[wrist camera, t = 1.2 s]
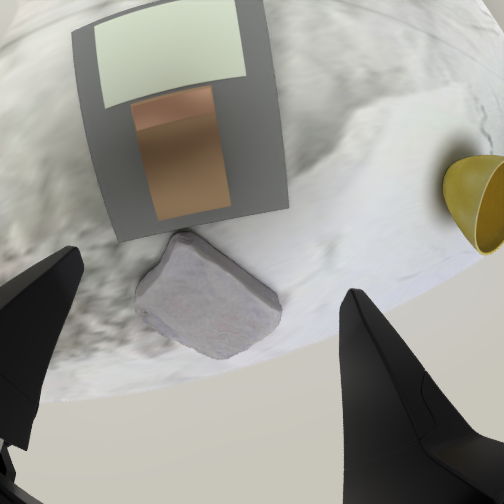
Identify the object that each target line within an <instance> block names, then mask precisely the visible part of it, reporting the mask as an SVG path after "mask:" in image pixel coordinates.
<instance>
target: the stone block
mask: <svg viewBox="0 0 504 504" xmlns="http://www.w3.org/2000/svg"><path fill="white" fill-rule="evenodd" d="M134 302H135V310H136V315H137V316H138V317H139V319H140V321H141V322H142V323H144V324H146V325H148V326H151V327H153V328H154V329H156V331H157V332H158V333H159V334H161V335H163V336H165V337H167V338H170V339H175V340H176V341H177V342H179V343H180V344H182V345H185V346H187V347H189V348H194V349H195V350H196V351H197V352H199V353H201V354H203V355H206V356H208V357H211V358H214V359H217V360H220V359H221V360H223V359H229V358H230V357H232V356H234V355H236V354H238V353H240V352H242V351H245V350H248V348H249V347H250V346H252V345H253V344H254V343H256V342H258V341H261V340H262V339H263V338H264V337H266V336H268V335H269V334H270V333H271V332H272V331H273V330H274V329H275V328H276V327H277V326H278V325H279V322H280V320H281V315H282V310H283V309H282V306H281V304H280V303H279V299H278V296H277V295H276V293H274V292H273V291H272V290H271V289H269V288H268V287H267V286H265V285H264V284H262V283H261V282H260V281H258V280H257V279H255V278H254V277H253V276H251V275H250V274H249V273H247V272H246V271H245V270H243V269H242V268H240V267H239V266H238V265H236V264H235V263H234V262H232V261H231V260H230V259H228V258H227V257H226V256H224V255H223V254H221V253H220V252H219V251H217V250H216V249H215V248H214V247H212V246H211V245H210V244H208V243H207V242H206V241H205V240H203V239H202V238H200V237H199V236H198V235H196V234H195V233H192V232H179V233H177V234H175V235H173V236H172V238H171V239H170V241H169V244H168V246H167V248H166V251H165V252H164V254H163V256H162V258H161V262H160V263H159V264H158V265H157V266H156V267H155V268H154V269H152V270H151V271H149V272H148V273H147V275H146V276H145V277H144V278H143V279H142V280H141V281H140V283H139V284H138V286H137V289H136V292H135V301H134Z"/></svg>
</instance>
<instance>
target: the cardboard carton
mask: <svg viewBox="0 0 504 504" xmlns="http://www.w3.org/2000/svg"><path fill="white" fill-rule="evenodd" d="M130 105H131V110H132V116H133V121H134V126H135V130H136V135H137V140H138V144H139V149H140V153H141V157H142V161H143V166H144V170H145V174H146V178H147V181H148V185H149V189H150V193H151V197H152V200H153V204H154V207H155V211H156V214H157V218H158V221H161V220H165V219H170V218H174V217H179V216H183V215H188V214H193V213H198V212H202V211H207V210H212V209H217V208H222V207H228V206H231V200H230V195H229V189H228V183H227V177H226V171H225V166H224V160H223V154H222V148H221V142H220V136H219V130H218V124H217V118H216V111H215V105H214V99H213V93H212V87H211V85H208V86H203V87H197V88H192V89H188V90H183V91H178V92H174V93H170V94H166V95H162V96H158V97H154V98H150V99H147V100H143V101H140V102H136V103H133V104H130Z"/></svg>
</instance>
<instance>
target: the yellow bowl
mask: <svg viewBox="0 0 504 504" xmlns="http://www.w3.org/2000/svg"><path fill="white" fill-rule="evenodd" d="M443 196H444V199H445V202H446V204H447V207H448V209H449V211H450V213H451V215H452V217H453V219H454V220H455V222H456V224H457V225H458V227H459V228H460V230H461V231H462V233H463V234H464V236H465V237H466V238H467V240H468V241H469V242H470V243H471V244H472V246H473V247H474V248H475V249H476V250H477V251H478V252H479V253H480V254H482V255H489V254H492V253H493V252H495V251H496V250H497V249H499V248H500V247H501V246H502V244H503V243H504V157H503V156H497V155H478V156H471V157H467V158H464V159H461V160H459V161H456V162H454V163H453V164H452V165H451V166H450V167H449V168H448V170H447V172H446V174H445V177H444V180H443Z"/></svg>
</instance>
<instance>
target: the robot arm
mask: <svg viewBox="0 0 504 504" xmlns="http://www.w3.org/2000/svg"><path fill="white" fill-rule="evenodd" d="M83 272H84V263H83V260H82V257H81V254H80V251H79V249H78V248H77V247H74V246H66V247H64V248H62V249H61V250H59V251H57V252H55V253H54V254H52V255H50V256H49V257H47V258H45V259H43V260H42V261H40V262H38V263H37V264H35V265H33V266H32V267H30V268H29V269H27V270H25V271H24V272H22V273H21V274H19V275H18V276H16V277H14V278H13V279H11V280H10V281H8V282H7V283H5V284H4V285H2V286H1V287H0V504H43V503H41V502H40V501H38V500H37V499H35V498H34V497H32V496H31V495H29V494H28V493H27V492H25V491H24V490H22V489H21V488H19V487H18V486H17V485H15V484H14V481H15V476H16V472H15V469H14V466H13V464H12V461H11V458H10V456H9V453H8V450H7V447H9V446H11V445H14V446H17V447H18V448H21V449H23V450H25V451H27V449H28V445H29V439H30V434H31V429H32V424H33V421H34V419H35V417H36V414H37V411H38V407H39V401H40V394H41V388H42V385H43V381H44V378H45V375H46V372H47V369H48V366H49V363H50V360H51V357H52V354H53V351H54V348H55V346H56V343H57V340H58V338H59V335H60V333H61V330H62V328H63V325H64V323H65V320H66V318H67V316H68V313H69V311H70V308H71V306H72V303H73V300H74V297H75V294H76V291H77V288H78V286H79V283H80V280H81V277H82V275H83ZM339 361H340V374H341V388H342V401H343V402H342V405H343V427H344V428H343V429H344V484H343V504H504V443H503V442H500V441H497V440H494V439H490V438H487V437H484V436H482V435H480V434H479V433H477V432H476V431H475V430H473V429H472V428H471V427H470V425H469V424H468V423H467V422H466V421H465V419H464V418H463V417H462V416H461V414H460V413H459V412H458V411H457V410H456V408H455V407H454V406H453V405H452V404H451V402H450V401H449V400H448V399H447V397H446V396H445V395H444V394H443V392H442V391H441V390H440V389H439V387H438V386H437V385H436V383H435V382H434V381H433V379H432V378H431V376H430V375H429V374H428V372H427V371H425V368H424V367H423V366H422V364H421V363H420V362H419V360H418V359H417V358H416V356H415V355H414V354H413V353H412V351H411V350H410V348H409V347H408V346H407V344H406V343H405V342H404V340H403V339H402V338H401V337H400V335H399V334H398V333H397V332H396V330H395V329H394V328H393V326H392V325H391V324H390V323H389V321H388V320H387V319H386V318H385V316H384V315H383V314H382V313H381V312H380V310H379V309H378V308H377V307H376V305H375V304H374V303H373V302H372V301H371V299H370V298H369V297H368V296H367V295H366V293H365V292H364V291H363V290H361V289H355V288H350V289H349V290H348V292H347V294H346V296H345V298H344V300H343V302H342V304H341V306H340V311H339Z"/></svg>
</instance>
